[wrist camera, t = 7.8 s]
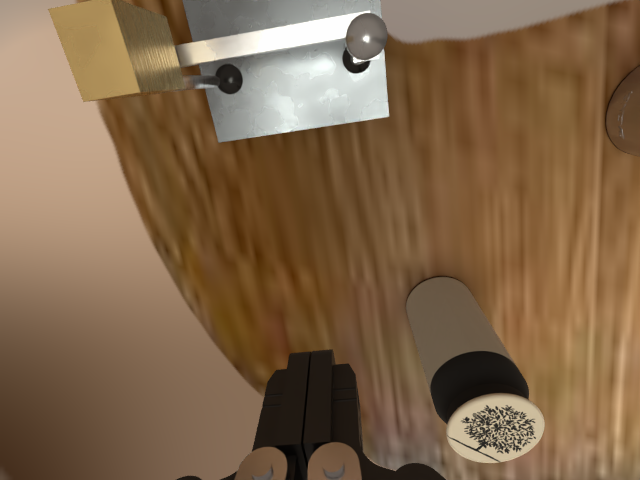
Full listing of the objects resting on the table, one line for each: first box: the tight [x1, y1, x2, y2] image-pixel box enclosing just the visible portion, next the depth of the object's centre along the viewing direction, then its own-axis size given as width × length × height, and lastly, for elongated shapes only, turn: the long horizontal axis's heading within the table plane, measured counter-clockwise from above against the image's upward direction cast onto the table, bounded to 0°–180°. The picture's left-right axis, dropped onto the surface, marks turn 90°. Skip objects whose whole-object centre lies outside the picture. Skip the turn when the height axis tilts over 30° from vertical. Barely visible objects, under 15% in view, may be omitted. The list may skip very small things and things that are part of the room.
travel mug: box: [406, 277, 545, 463], centre depth 37 cm, size 8×8×18 cm
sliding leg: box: [48, 0, 220, 102], centre depth 26 cm, size 3×4×18 cm
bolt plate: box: [174, 0, 389, 142], centre depth 28 cm, size 18×14×14 cm
